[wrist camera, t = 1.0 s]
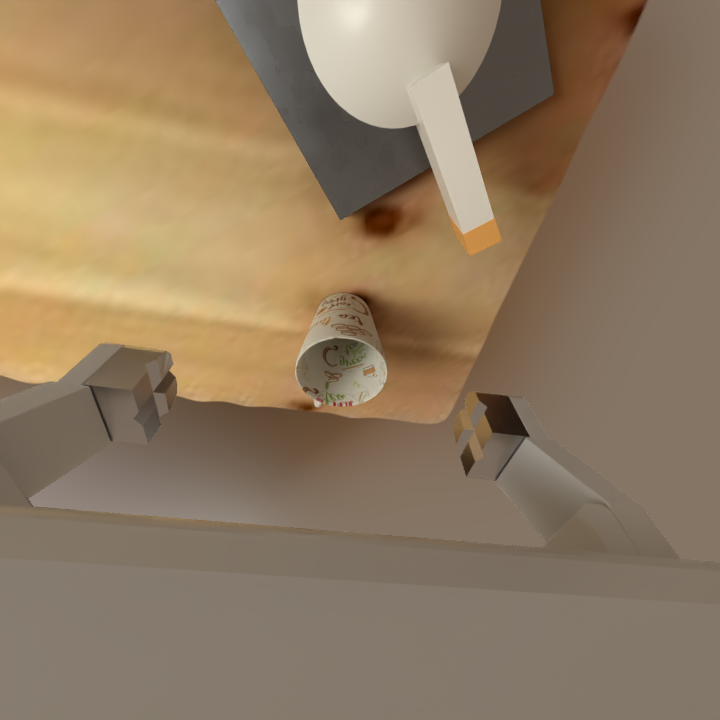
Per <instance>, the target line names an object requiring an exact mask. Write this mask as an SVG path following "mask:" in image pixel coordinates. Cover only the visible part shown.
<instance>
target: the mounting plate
mask: <svg viewBox="0 0 720 720" xmlns="http://www.w3.org/2000/svg"><path fill="white" fill-rule="evenodd" d="M215 1H216V3H217V5H218V6H219V8H220V10H221V12H222V13H223V15H224V17H225V19H226V20H227V22H228V24H229V26H230V27H231V29H232V31H233V33H234V34H235V36H236V38H237V40H238V41H239V43H240V45H241V47H242V48H243V50H244V52H245V54H246V55H247V57H248V59H249V61H250V62H251V64H252V66H253V68H254V69H255V71H256V73H257V75H258V76H259V78H260V80H261V82H262V83H263V85H264V87H265V89H266V91H267V92H268V94H269V96H270V98H271V99H272V101H273V103H274V105H275V106H276V108H277V110H278V112H279V113H280V115H281V117H282V119H283V120H284V122H285V124H286V126H287V127H288V129H289V131H290V133H291V134H292V136H293V138H294V140H295V141H296V143H297V145H298V147H299V148H300V150H301V152H302V154H303V155H304V157H305V159H306V161H307V162H308V164H309V166H310V168H311V169H312V171H313V173H314V175H315V177H316V178H317V180H318V182H319V184H320V185H321V187H322V189H323V191H324V192H325V194H326V196H327V198H328V199H329V201H330V203H331V205H332V206H333V208H334V210H335V212H336V213H337V215H338V217H339V219H340V220H342V219H343V218H345V217H347V216H348V215H350V214H352V213H354V212H355V211H357V210H359V209H360V208H362V207H364V206H365V205H367V204H369V203H371V202H372V201H374V200H376V199H377V198H379V197H381V196H382V195H384V194H386V193H388V192H389V191H391V190H393V189H394V188H396V187H398V186H399V185H401V184H403V183H405V182H406V181H408V180H410V179H411V178H413V177H415V176H416V175H418V174H420V173H421V172H423V171H425V170H427V169H428V168H430V167H431V165H430V162H429V159H428V157H427V154H426V151H425V149H424V146H423V143H422V140H421V138H420V135H419V132H418V130H417V127H416V125H414V126H410V127H405V128H394V129H391V128H381V127H377V126H373V125H369V124H367V123H365V122H363V121H360V120H358V119H357V118H355V117H354V116H352V115H350V114H349V113H348V112H347V111H345V110H344V109H343V108H342V107H341V106H339V105H338V103H337V102H336V101H335V100H334V99H333V98H332V97H331V96H330V94H329V93H328V92H327V90H326V89H325V87H324V86H323V85H322V83H321V81H320V79H319V78H318V76H317V74H316V72H315V70H314V68H313V66H312V63H311V61H310V58H309V56H308V53H307V50H306V47H305V43H304V40H303V36H302V31H301V26H300V21H299V12H298V3H297V0H215ZM552 95H554V88H553V82H552V75H551V68H550V61H549V55H548V48H547V41H546V34H545V28H544V21H543V14H542V8H541V1H540V0H501V7H500V12H499V16H498V20H497V24H496V28H495V31H494V34H493V37H492V40H491V43H490V46H489V48H488V50H487V53H486V55H485V57H484V59H483V61H482V63H481V65H480V67H479V69H478V70H477V72H476V74H475V75H474V77H473V78H472V80H471V81H470V83H469V84H468V86H467V87H466V88H465V89H464V91H463V92H462V93H461V94H460V95H459V99H460V103H461V106H462V110H463V113H464V117H465V120H466V123H467V127H468V130H469V134H470V137H471V141H472V142H474V141H476V140H477V139H479V138H481V137H483V136H484V135H486V134H488V133H489V132H491V131H493V130H494V129H496V128H498V127H500V126H501V125H503V124H505V123H506V122H508V121H510V120H511V119H513V118H515V117H517V116H518V115H520V114H522V113H523V112H525V111H527V110H528V109H530V108H532V107H533V106H535V105H537V104H539V103H540V102H542V101H544V100H545V99H547V98H549V97H550V96H552Z"/></svg>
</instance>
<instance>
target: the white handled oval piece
mask: <svg viewBox="0 0 720 720" xmlns="http://www.w3.org/2000/svg"><path fill="white" fill-rule="evenodd" d="M297 3H298V12H299V21H300V26H301V31H302V36H303V40H304V43H305V47H306V50H307V53H308V56H309V58H310V61H311V63H312V66H313V68H314V70H315V72H316V74H317V76H318V78H319V79H320V81H321V83H322V85H323V86H324V87H325V89H326V90H327V92H328V93H329V94H330V96H331V97H332V98H333V99H334V100H335V101H336V102H337V103H338V105H339V106H341V107H342V108H343V109H344V110H345V111H347V112H348V113H349V114H350V115H352V116H354V117H355V118H357V119H358V120H360V121H363V122H365V123H367V124H369V125H373V126H377V127H381V128H391V129H394V128H405V127H410V126H414V125H416V127H417V130H418V132H419V135H420V138H421V140H422V143H423V146H424V149H425V151H426V154H427V157H428V159H429V162H430V165H431V168H432V170H433V173H434V176H435V178H436V181H437V184H438V186H439V189H440V192H441V195H442V197H443V200H444V203H445V205H446V208H447V211H448V214H449V219H450V221H451V224H452V227H453V229H454V232H455V235H456V236H457V238H458V239H459V241H460V242H461V243H462V245H463V246H464V248H465V249H466V251H467V252H468V254H469V255H470V256H471V255H473V254H475V253H477V252H480V251H482V250H484V249H486V248H488V247H490V246H492V245H494V244H496V243H498V242H500V241H502V240H501V237H500V233H499V230H498V226H497V223H496V219H495V218H494V216H493V213H492V209H491V206H490V203H489V199H488V196H487V192H486V189H485V185H484V182H483V178H482V175H481V172H480V168H479V165H478V161H477V158H476V154H475V151H474V147H473V144H472V141H471V137H470V134H469V130H468V127H467V123H466V120H465V117H464V113H463V110H462V106H461V103H460V99H459V95H460V94H461V93H462V92H463V91H464V89H465V88H466V87H467V86H468V84H469V83H470V81H471V80H472V78H473V77H474V75H475V74H476V72H477V70H478V69H479V67H480V65H481V63H482V61H483V59H484V57H485V55H486V53H487V50H488V48H489V46H490V43H491V40H492V37H493V34H494V31H495V28H496V24H497V20H498V16H499V12H500V7H501V0H297Z"/></svg>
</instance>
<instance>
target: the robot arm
mask: <svg viewBox="0 0 720 720" xmlns="http://www.w3.org/2000/svg"><path fill="white" fill-rule="evenodd" d="M172 365H173V361H172V357H171V354H170V353H169V352H167V351H163V350H156V349H149V348H143V347H136V346H130V345H121V344H114V343H107V342H106V343H101V344H99V345H98V346H97V347H96V348H95V349H93V350H92V351H91V352H90V353H89V354H88V355H87V356H86V357H85V358H83V359H82V360H81V361H80V362H79V363H78V364H77V365H76V366H75V367H73V368H72V369H71V370H70V371H69V372H68V373H67V374H66V375H65V376H63V377H62V378H61V379H60V380H59V381H58V382H47V383H44V384H41V385H39V386H36V387H33V388H30V389H28V390H25V391H22V392H19V393H17V394H14V395H11V396H9V397H6V398H3V399H0V720H720V562H714V561H702V560H689V559H680V558H679V556H678V555H677V554H676V552H675V551H674V549H673V548H672V547H671V545H670V544H669V542H668V541H667V540H666V538H665V537H664V535H663V534H662V533H661V531H660V530H659V529H658V527H657V526H656V524H655V523H654V522H653V520H652V519H651V517H650V516H649V514H648V513H647V512H646V510H645V509H644V508H643V507H642V506H641V505H640V504H638V503H637V502H636V501H634V500H633V499H632V498H630V497H629V496H628V495H626V494H625V493H624V492H622V491H621V490H619V489H618V488H617V487H616V486H614V485H613V484H612V483H610V482H609V481H608V480H606V479H605V478H604V477H602V476H601V475H600V474H599V473H597V472H596V471H595V470H593V469H592V468H591V467H589V466H588V465H587V464H585V463H584V462H583V461H581V460H580V459H579V458H577V457H576V456H575V455H573V454H572V453H571V452H569V451H568V450H566V449H565V448H564V447H563V446H561V445H560V444H559V443H557V442H556V441H553V440H550V439H549V438H548V436H547V435H546V433H545V431H544V429H543V428H542V426H541V424H540V423H539V421H538V419H537V417H536V416H535V414H534V412H533V411H532V409H531V407H530V406H529V404H528V402H527V400H526V399H524V398H523V397H521V396H512V395H499V394H491V393H483V392H475V391H470V392H469V393H468V394H467V396H466V398H465V400H464V403H465V406H466V408H465V409H463V410H462V411H460V412H458V415H457V417H456V420H455V425H454V437H455V441H456V444H457V445H458V446H459V447H460V448H461V449H462V450H463V453H462V454H461V456H460V458H461V461H462V465H463V468H464V471H465V475H466V477H470V478H479V479H486V480H493V481H496V484H497V485H498V486H499V487H500V488H501V490H502V491H503V492H504V493H505V494H506V495H507V497H508V498H509V499H510V500H511V501H512V503H513V504H514V505H515V506H516V507H517V508H518V510H519V511H520V512H521V513H522V514H523V515H524V517H525V518H526V519H527V520H528V521H529V523H530V524H531V525H532V526H533V527H534V528H535V529H536V531H537V532H538V533H539V534H540V535H541V537H542V538H543V539H544V540H545V541H546V543H545V544H544V545H543V546H542V547H528V546H516V545H504V544H491V543H479V542H467V541H455V540H442V539H429V538H417V537H404V536H392V535H391V536H390V535H379V534H367V533H354V532H341V531H328V530H317V529H304V528H292V527H279V526H268V525H255V524H243V523H230V522H218V521H206V520H194V519H193V520H192V519H181V518H169V517H157V516H144V515H132V514H120V513H107V512H95V511H81V510H69V509H58V508H45V507H34V506H33V505H32V504H31V502H30V501H29V499H28V498H30V497H32V496H33V495H35V494H36V493H38V492H39V491H40V490H42V489H44V488H45V487H47V486H48V485H50V484H51V483H53V482H54V481H56V480H57V479H59V478H60V477H62V476H63V475H65V474H66V473H68V472H69V471H70V470H72V469H74V468H75V467H77V466H78V465H80V464H81V463H83V462H84V461H86V460H87V459H89V458H90V457H92V456H93V455H95V454H96V453H98V452H99V451H101V450H102V449H104V448H105V447H107V446H108V445H110V444H111V442H122V443H135V444H149V442H150V440H151V439H152V438H153V436H154V434H155V433H156V431H157V430H158V428H159V427H160V425H161V423H160V419H159V417H160V416H162V415H164V414H165V413H167V412H169V410H170V409H171V407H172V405H173V404H174V401H175V397H176V394H177V382H176V377H175V376H174V375H173V374H172V373H171V372H170V371H169V370H170V368H171V367H172Z"/></svg>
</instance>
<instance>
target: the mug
mask: <svg viewBox="0 0 720 720" xmlns="http://www.w3.org/2000/svg"><path fill="white" fill-rule="evenodd" d="M295 373H296V378H297V381H298V383H299V385H300V387H301V388H302V390H303V391H304V392H305V393H306V394H307V395H309V396H310V397H311V398H313V399H314V404H315V406H316V407H320V406H321V405H322V404H323V403H324V404H327V405H332V406H353V405H358V404H361V403H364V402H366V401H368V400H370V399H372V398H373V397H374V396H376V395H377V394H378V393H379V392H380V391H381V390H382V388H383V387H384V385H385V383H386V380H387V376H388V365H387V361H386V357H385V354H384V351H383V348H382V345H381V342H380V339H379V336H378V333H377V330H376V327H375V324H374V321H373V318H372V315H371V312H370V310H369V308H368V306H367V304H366V303H365V302H364V301H363V300H362V299H361V298H359V297H358V296H356V295H353V294H349V293H337V294H334V295H331V296H329V297H327V298H326V299H325V300H324V301H323V302H322V303H321V304H320V306H319V308H318V310H317V312H316V315H315V317H314V319H313V322H312V324H311V327H310V329H309V331H308V334H307V336H306V338H305V341H304V343H303V346H302V348H301V350H300V353H299V355H298V358H297V362H296V367H295Z"/></svg>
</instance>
